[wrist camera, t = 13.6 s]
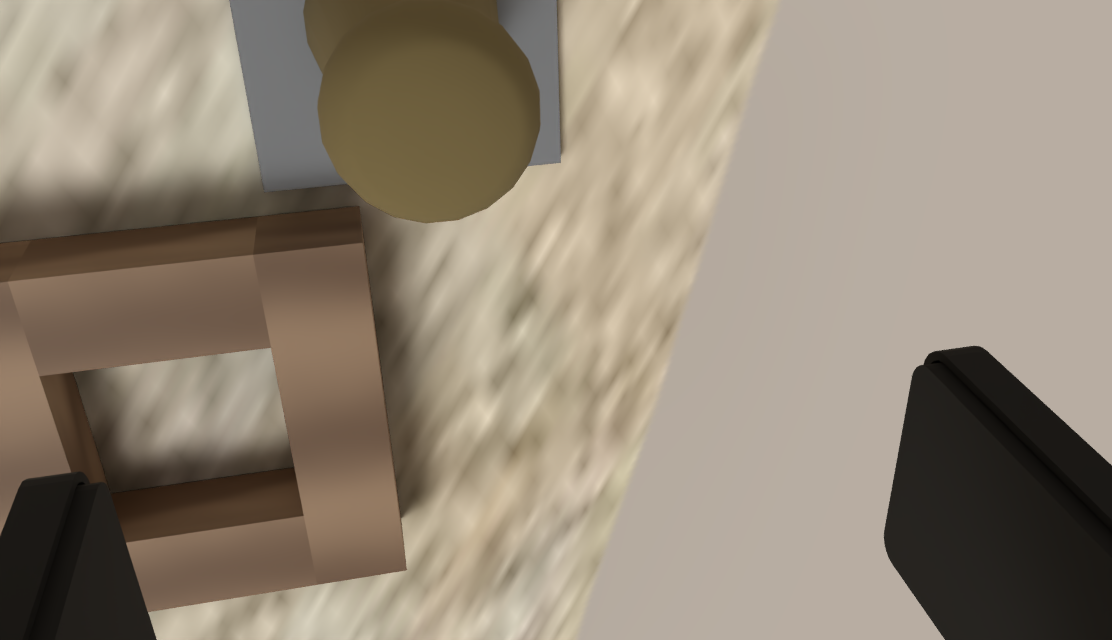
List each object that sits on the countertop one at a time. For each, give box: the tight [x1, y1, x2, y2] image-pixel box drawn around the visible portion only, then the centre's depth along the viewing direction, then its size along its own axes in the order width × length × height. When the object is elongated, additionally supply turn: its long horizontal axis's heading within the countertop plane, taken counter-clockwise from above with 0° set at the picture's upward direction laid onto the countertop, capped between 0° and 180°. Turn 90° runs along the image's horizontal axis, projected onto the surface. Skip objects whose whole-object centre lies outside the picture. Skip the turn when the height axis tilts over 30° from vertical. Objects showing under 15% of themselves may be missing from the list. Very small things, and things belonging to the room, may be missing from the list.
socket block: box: [0, 206, 407, 612], centre depth 36 cm, size 14×14×3 cm
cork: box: [303, 0, 541, 223], centre depth 27 cm, size 6×6×11 cm
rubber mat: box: [229, 0, 561, 192], centre depth 32 cm, size 10×10×1 cm
